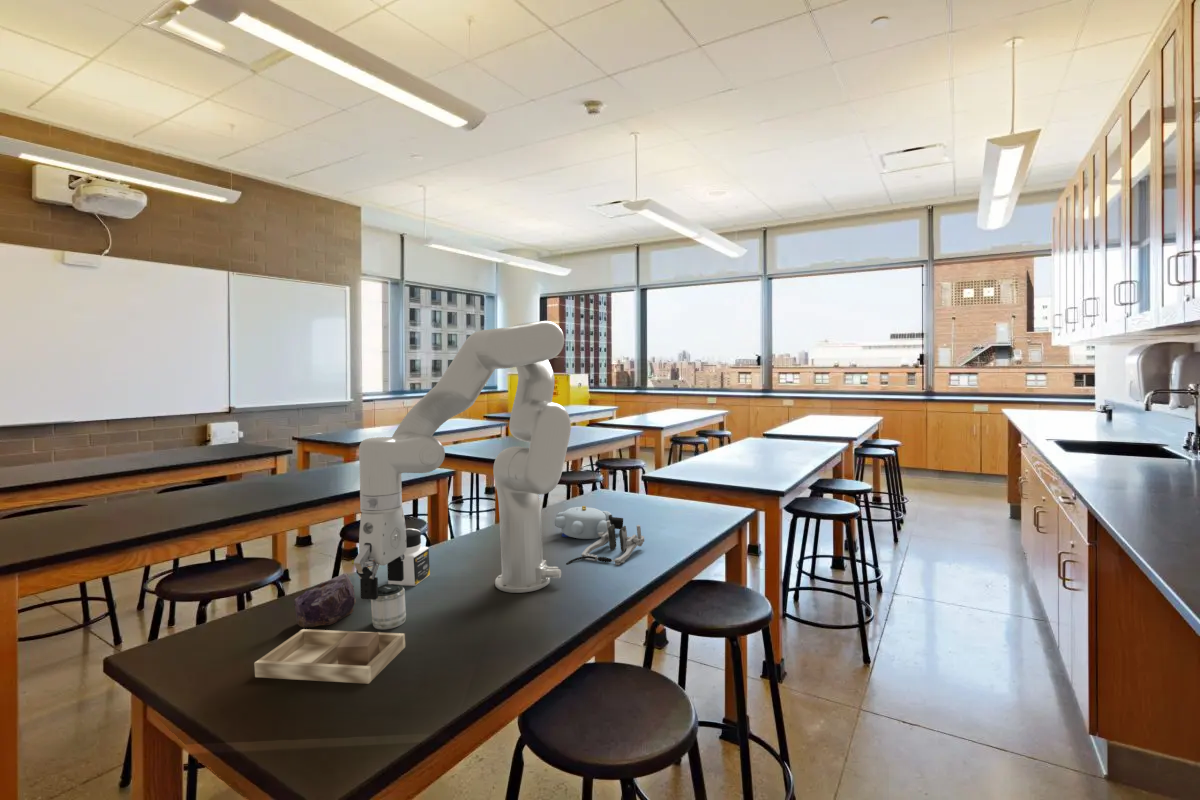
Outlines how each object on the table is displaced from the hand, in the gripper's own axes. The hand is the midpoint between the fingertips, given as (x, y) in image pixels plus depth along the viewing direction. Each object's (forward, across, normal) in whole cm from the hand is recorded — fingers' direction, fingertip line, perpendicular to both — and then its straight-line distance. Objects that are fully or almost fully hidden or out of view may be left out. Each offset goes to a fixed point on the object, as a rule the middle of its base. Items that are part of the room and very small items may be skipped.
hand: (383, 589), depth 112 cm
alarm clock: (+6, +64, -30) cm, 71 cm away
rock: (+8, +2, +12) cm, 15 cm away
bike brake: (+6, +45, -38) cm, 59 cm away
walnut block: (+7, -14, -4) cm, 16 cm away
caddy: (+8, -14, +1) cm, 16 cm away
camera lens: (+8, +1, -1) cm, 8 cm away
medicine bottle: (+7, +25, +7) cm, 27 cm away
